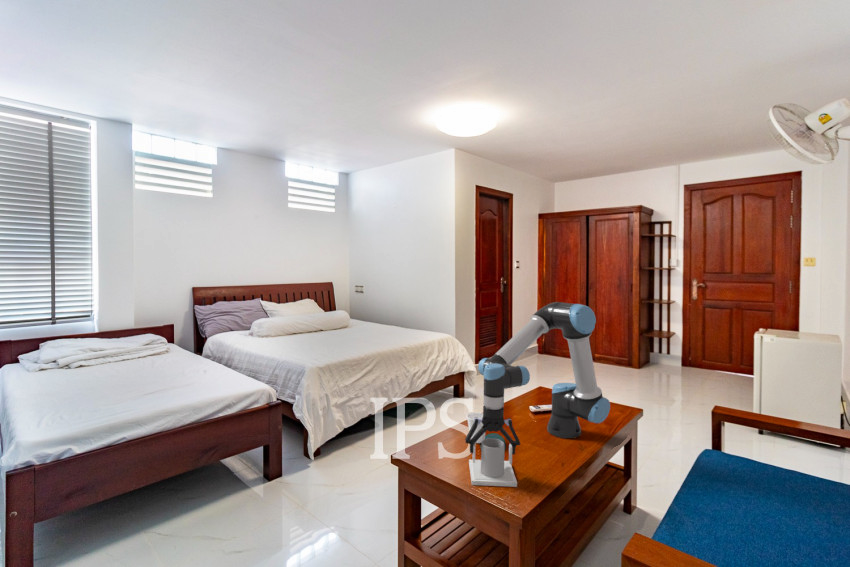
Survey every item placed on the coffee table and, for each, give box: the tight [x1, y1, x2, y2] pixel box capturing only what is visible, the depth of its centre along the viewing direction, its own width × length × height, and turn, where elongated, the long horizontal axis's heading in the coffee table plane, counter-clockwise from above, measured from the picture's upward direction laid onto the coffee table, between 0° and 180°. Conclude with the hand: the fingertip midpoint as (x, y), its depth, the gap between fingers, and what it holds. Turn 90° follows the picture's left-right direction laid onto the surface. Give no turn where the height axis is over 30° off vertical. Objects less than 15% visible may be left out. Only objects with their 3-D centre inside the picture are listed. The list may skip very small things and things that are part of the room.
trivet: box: [468, 459, 518, 488], centre depth 153 cm, size 16×16×2 cm
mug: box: [480, 437, 506, 478], centre depth 152 cm, size 12×8×11 cm
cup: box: [466, 412, 487, 444], centre depth 181 cm, size 10×10×11 cm
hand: (492, 461), depth 152 cm, fingers open, 13 cm apart
